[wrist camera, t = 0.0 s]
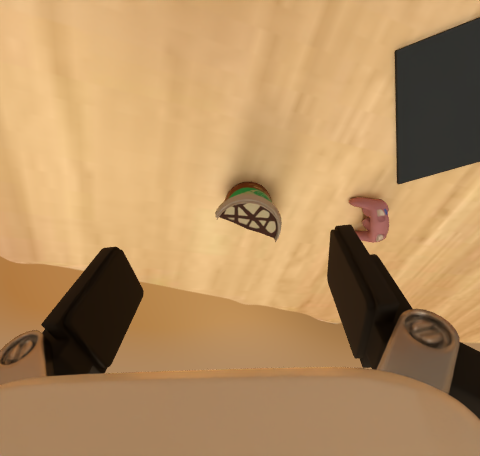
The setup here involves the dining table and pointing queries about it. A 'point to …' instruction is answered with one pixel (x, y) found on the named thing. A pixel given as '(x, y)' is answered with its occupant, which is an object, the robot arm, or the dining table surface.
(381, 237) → the video game controller
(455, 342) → the robot arm
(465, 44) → the placemat
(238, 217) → the food container
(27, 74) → the dining table surface
